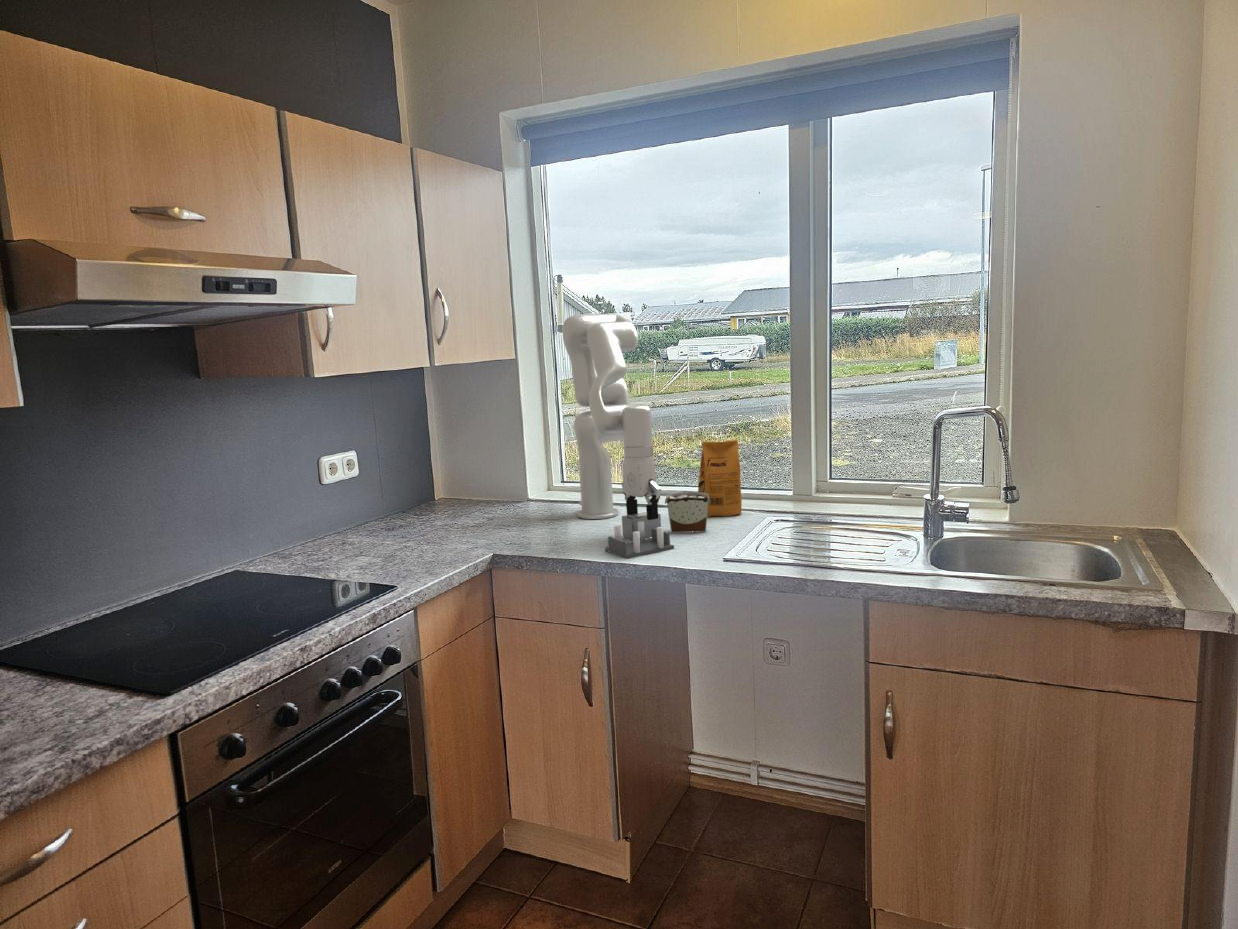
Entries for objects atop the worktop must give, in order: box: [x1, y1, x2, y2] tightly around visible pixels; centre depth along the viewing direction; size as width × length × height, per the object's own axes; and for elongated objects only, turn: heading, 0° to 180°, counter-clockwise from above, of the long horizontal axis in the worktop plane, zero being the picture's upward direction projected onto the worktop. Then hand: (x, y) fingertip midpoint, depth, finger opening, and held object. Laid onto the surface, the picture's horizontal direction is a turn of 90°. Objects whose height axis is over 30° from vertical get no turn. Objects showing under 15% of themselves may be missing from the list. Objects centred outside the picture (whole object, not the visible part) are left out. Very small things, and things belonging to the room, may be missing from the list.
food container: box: [664, 491, 711, 533], centre depth 220 cm, size 12×6×10 cm, turn 84°
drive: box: [621, 511, 662, 542], centre depth 215 cm, size 5×9×6 cm, turn 120°
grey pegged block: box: [604, 521, 675, 559], centre depth 201 cm, size 10×14×6 cm
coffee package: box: [697, 438, 743, 518], centre depth 237 cm, size 10×12×22 cm
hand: (642, 516), depth 214 cm, fingers open, 9 cm apart
